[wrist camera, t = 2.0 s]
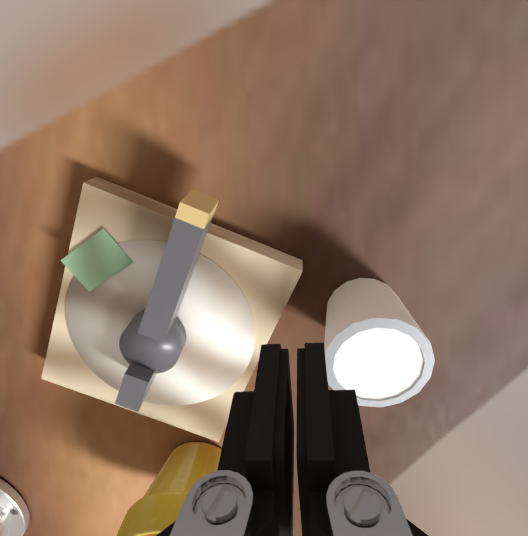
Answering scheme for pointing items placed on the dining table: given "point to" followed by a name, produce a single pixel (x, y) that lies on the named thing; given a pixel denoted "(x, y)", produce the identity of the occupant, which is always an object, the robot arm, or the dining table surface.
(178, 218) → the grey dial pointer
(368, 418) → the dining table surface
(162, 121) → the dining table surface
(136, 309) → the tuner board
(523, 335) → the dining table surface
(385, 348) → the white cup
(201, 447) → the plant pot
